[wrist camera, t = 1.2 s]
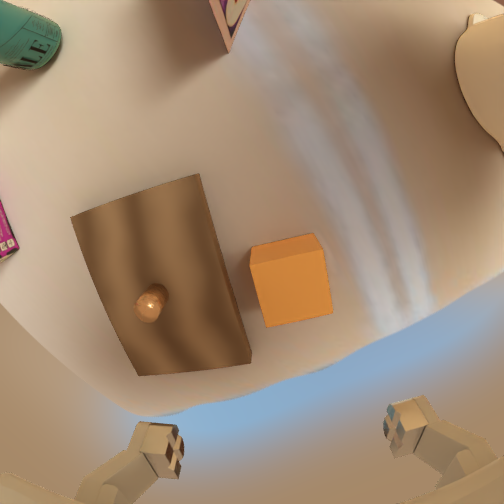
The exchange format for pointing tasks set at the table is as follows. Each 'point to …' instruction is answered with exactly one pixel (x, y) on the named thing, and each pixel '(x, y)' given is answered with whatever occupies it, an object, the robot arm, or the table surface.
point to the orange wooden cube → (291, 280)
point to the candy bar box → (6, 237)
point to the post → (151, 303)
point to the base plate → (164, 278)
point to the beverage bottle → (26, 37)
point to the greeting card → (228, 17)
